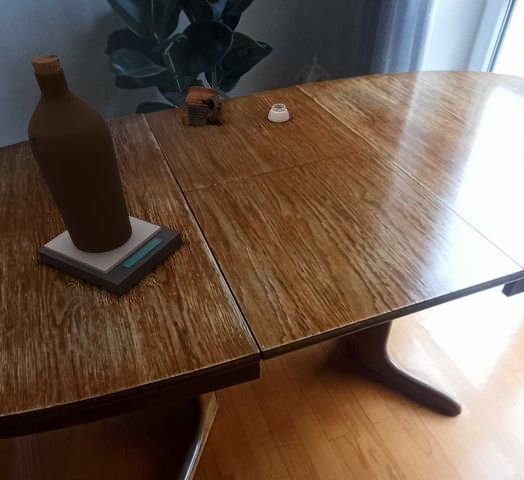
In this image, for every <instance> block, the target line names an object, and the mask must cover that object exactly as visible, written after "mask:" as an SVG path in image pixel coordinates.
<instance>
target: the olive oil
mask: <svg viewBox="0 0 524 480" xmlns="http://www.w3.org/2000/svg"><path fill="white" fill-rule="evenodd" d="M30 63H31V65H32V67H33V69H34V73H33V75H34V77H35V80H36V82H37V85H38V87H39V90H40V97H39V100H38V101H37V104H36V106H35V108H34V110H33V112H32V114H31V117H30V119H29V122H28V126H27V137H28V144H29V148H30V151H31V153H32V155H33V157H34V160H35V162H36V164H37V166H38V168H39V170H40V173H41V174H42V177H43V179H44V181H45V184H46V186H47V188H48V190H49V192H50V194H51V196H52V199H53V201H54V203H55V206H56V207H57V210H58V213H59V214H60V216H61V219H62V222H63V224H64V226H65V229H66V230H67V231H68V233H69V235H70V238H71V240H72V242H73V244H74V246H75V247H76V248H78V249H79V250H82V251H84V252H89V253H101V252H107V251H111V250H114V249H116V248H118V247H120V246H122V245H123V244H125V243H126V242H127V241H128V240H129V238H130V237H131V235H132V227H131V223H130V218H129V215H130V214H129V210H128V206H127V202H126V198H125V194H124V189H123V183H122V179H121V174H120V170H119V165H118V164H119V163H118V160H117V156H116V149H115V144H114V141H113V136H112V132H111V130H110V128H109V125H108V124H107V122H106V120H105V119H104V117H103V116H102V114H101V113H100V112H99V111H98V110H97V109H96V108H95V107H94V106H92V105H90V104H89V103H88V102H86V101H85V100H83V98H81V97H80V96H78V95H77V94H75V93H74V92H73V91H72V90H70V88H69V86H68V85H69V84H68V81H67V78H66V75H65V71H64V69H63V68H62V67H61V62H60V59H59V56H58V55H57V54H56V55H55V54H49V53H46V54H40V55H37V56H34V57H32V59H30Z"/></svg>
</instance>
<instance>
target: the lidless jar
mask: <svg viewBox="0 0 524 480" xmlns="http://www.w3.org/2000/svg"><path fill="white" fill-rule="evenodd" d="M267 119H268V120H269V121H271V122H275V123H283V122H286V121H288V120H290V113H289V111H288V109H287V107H286V105H285V104H283V103H274V104H273V105H272V106H271V109H270V110H269V113H268V115H267Z"/></svg>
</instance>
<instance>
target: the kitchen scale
mask: <svg viewBox="0 0 524 480" xmlns="http://www.w3.org/2000/svg"><path fill="white" fill-rule="evenodd" d="M129 218H130V223H131V227H132V235H131V237H130V238H129V240H128V241H127V242H126V243H125V244H123V245H122V246H120V247H118V248H116V249H114V250H111V251H107V252H101V253H89V252H84V251H82V250H79V249H78V248H76V247H75V246H74V244H73V242H72V240H71V238H70V235H69V233H68V231H67V229H66V230H64V231H63V232H61V233H60V234H59V235H57V236H56V237H54V238H53V239H51V240H50V241H49V242H47V243H46V244H44V245H43V246H41V247H40V248H38V249H37V250H36V252H37V254H38V256H39V259H40V261H41V262H42V263H44V264H47V265H49V266H50V267H53V268H56V269H58V270H60V271H63V272H65V273H66V274H67V273H68V274H70V275H72V276H74V277H77V278H79V279H81V280H83V281H86V282H89V283H91V284H93V285H95V286H98V287H100V288H102V289H105V290H107V291H109V292H112V293H115V294H116V295H118V296H121V297H122V296H123V295H124V294H126V292H128V291H129V290H130V289H131V288H132V287H133V286H135V285H136V284H138V282H140V280H142V279H143V278H144V277H145V276H146V275H148V274H149V273H150V272H151V271H152V270H153V269H155V267H157V266H158V265H159V264H161V262H163V261H164V260H166V258H167V257H168V256H170V255H171V254H172V253H173V252H174V251H175V250H177V249H178V248H179V247H181V245H183V244H184V242H183V238H182V233H181V231H178V230H175V229H172V228H169V227H166V226H165V225H160V224H158V223H155V222H152V221H149V220H147V219H143V218H140V217H137V216H135V215H132V214H129Z"/></svg>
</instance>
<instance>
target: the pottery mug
mask: <svg viewBox="0 0 524 480" xmlns="http://www.w3.org/2000/svg"><path fill="white" fill-rule="evenodd" d="M185 90H186V91H187V92H186V93H185V94H184V96H183V97H182V101H183V102H185V103H186V108H187V109H186V110H187V113H184V114H183V121H184V124H186V125H191V126H196V127H205V126H207V121H210V122H211V123H213V122H215V121H216V120H217V118H218V117H219V116H220V114H221V112H222V109H223V103H222V99H220V98H219V91H218V90H216V89H214V88H211V87H205V86H188V87H187V88H186V89H185Z"/></svg>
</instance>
